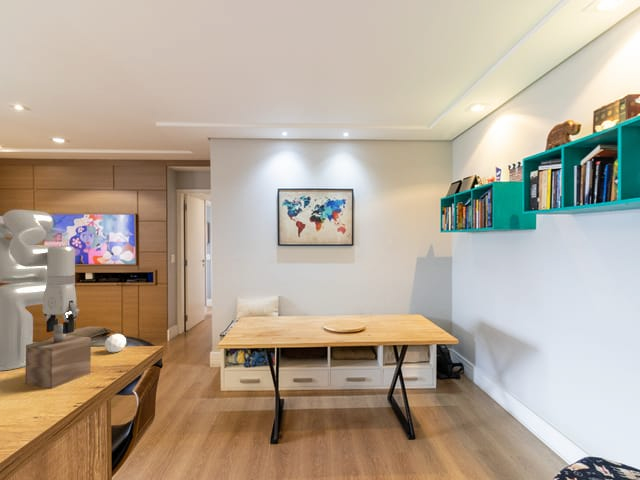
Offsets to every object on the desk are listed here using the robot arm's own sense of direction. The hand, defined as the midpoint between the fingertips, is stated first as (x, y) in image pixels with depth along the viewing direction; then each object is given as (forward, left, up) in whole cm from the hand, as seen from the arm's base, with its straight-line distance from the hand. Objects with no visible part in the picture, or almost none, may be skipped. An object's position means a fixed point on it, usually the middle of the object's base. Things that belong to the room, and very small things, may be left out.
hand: (60, 331), depth 106 cm
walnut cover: (0, 0, -16) cm, 16 cm away
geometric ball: (-6, +26, -16) cm, 31 cm away
